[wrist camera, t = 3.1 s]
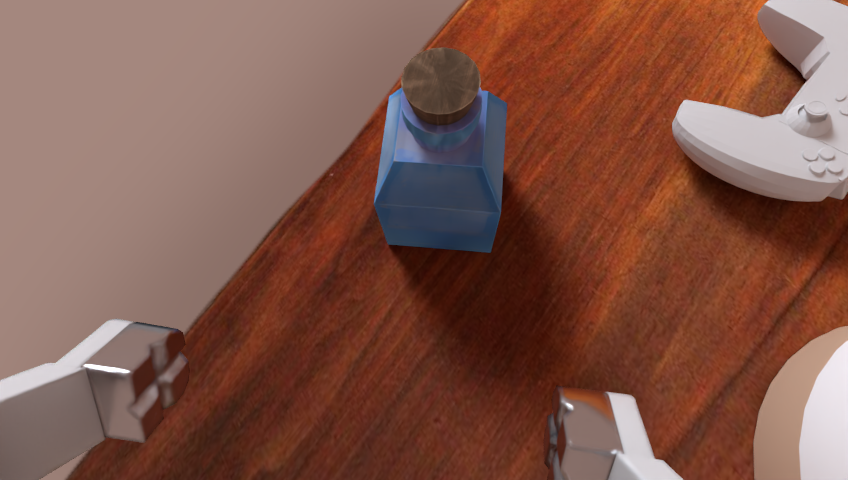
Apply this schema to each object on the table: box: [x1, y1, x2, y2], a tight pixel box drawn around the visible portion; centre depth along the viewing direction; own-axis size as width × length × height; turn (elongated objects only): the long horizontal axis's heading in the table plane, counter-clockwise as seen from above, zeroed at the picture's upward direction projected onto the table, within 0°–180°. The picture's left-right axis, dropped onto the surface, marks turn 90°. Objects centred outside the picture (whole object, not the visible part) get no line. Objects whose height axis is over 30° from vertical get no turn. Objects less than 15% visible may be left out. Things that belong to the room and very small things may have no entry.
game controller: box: [672, 0, 848, 202], centre depth 30 cm, size 14×4×10 cm
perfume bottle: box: [374, 48, 507, 253], centre depth 26 cm, size 6×6×12 cm
